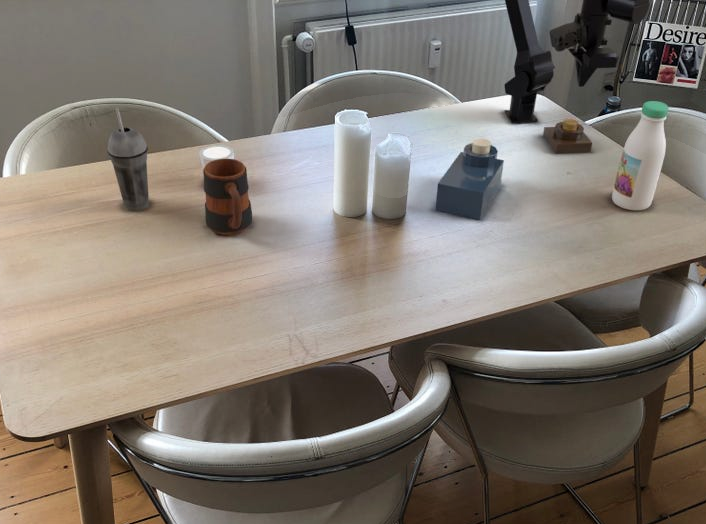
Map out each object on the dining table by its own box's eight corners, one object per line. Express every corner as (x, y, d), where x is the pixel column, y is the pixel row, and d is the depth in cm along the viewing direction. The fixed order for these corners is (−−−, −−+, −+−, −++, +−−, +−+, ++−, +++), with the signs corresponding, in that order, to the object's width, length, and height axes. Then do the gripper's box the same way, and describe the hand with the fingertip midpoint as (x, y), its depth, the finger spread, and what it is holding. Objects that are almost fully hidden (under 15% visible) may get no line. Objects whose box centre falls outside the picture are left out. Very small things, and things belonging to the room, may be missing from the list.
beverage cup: (162, 200, 163) (148, 101, 150) (143, 217, 157) (127, 116, 145) (130, 193, 164) (113, 95, 152) (110, 210, 159) (91, 110, 146)
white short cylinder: (474, 146, 166) (475, 136, 165) (491, 149, 165) (493, 140, 164) (469, 153, 164) (470, 144, 163) (486, 157, 163) (488, 147, 161)
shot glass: (243, 184, 168) (241, 152, 164) (217, 195, 164) (214, 163, 160) (221, 173, 172) (218, 141, 167) (195, 184, 168) (191, 152, 163)
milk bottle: (647, 194, 168) (673, 98, 155) (654, 212, 162) (682, 114, 149) (608, 191, 169) (631, 95, 156) (614, 210, 163) (638, 112, 150)
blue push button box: (459, 175, 173) (463, 139, 168) (501, 183, 170) (507, 147, 165) (435, 210, 161) (438, 172, 156) (479, 220, 159) (485, 182, 154)
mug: (217, 249, 149) (212, 191, 142) (201, 217, 158) (195, 161, 150) (263, 240, 152) (260, 182, 144) (245, 210, 160) (241, 153, 153)
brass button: (559, 126, 184) (561, 118, 183) (573, 125, 185) (575, 118, 184) (564, 132, 182) (566, 124, 181) (578, 131, 182) (580, 124, 181)
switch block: (542, 136, 189) (545, 119, 186) (576, 134, 189) (579, 118, 187) (555, 153, 182) (558, 136, 179) (590, 152, 183) (594, 135, 180)
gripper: (543, -2, 177) (531, 71, 187) (573, 27, 162) (559, 104, 172) (593, -3, 178) (579, 69, 188) (627, 25, 164) (610, 102, 174)
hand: (580, 86), depth 180 cm, fingers closed
